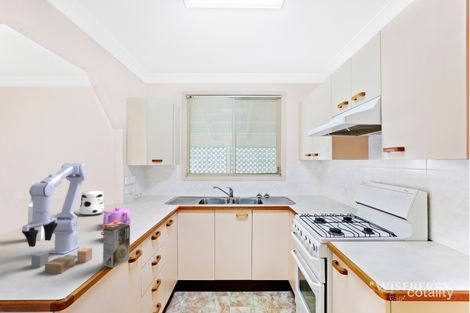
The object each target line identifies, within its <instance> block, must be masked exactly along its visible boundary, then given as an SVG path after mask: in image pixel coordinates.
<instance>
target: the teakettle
mask: <svg viewBox="0 0 470 313" xmlns="http://www.w3.org/2000/svg"><path fill="white" fill-rule="evenodd" d="M130 212H131V209H129V208H126V209H125V208H120V207H117V206H116V207H115V208H114V209H110V210H105V211H103V221H102V226H103V225H104V224H110V223H113V221H118V222H122V223H123V224H126V225H131V213H130ZM106 227H107V225H105V226H104V228H106Z"/></svg>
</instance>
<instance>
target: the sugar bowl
mask: <svg viewBox="0 0 470 313" xmlns="http://www.w3.org/2000/svg"><path fill="white" fill-rule="evenodd" d="M120 223H122V222H118V221H113V223H110V224H104V225H103V224H102V226H101V227H102V228H101V229H102V231H101V233H100V235H101V236H103V238H104V228H105V227H104V226H105V225H107V227H110V226H113V225H116V224H120ZM122 224H123V223H122Z"/></svg>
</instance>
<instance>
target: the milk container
mask: <svg viewBox="0 0 470 313" xmlns="http://www.w3.org/2000/svg"><path fill="white" fill-rule="evenodd" d="M104 210H105V205H104V191H102V190H101V191H100V190H88V191H83V192H81V194H80V205H79V214H80V215H82V216H97V215H100V214H103V213H104Z"/></svg>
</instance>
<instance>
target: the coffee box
mask: <svg viewBox="0 0 470 313" xmlns="http://www.w3.org/2000/svg"><path fill="white" fill-rule="evenodd" d="M103 234H104V237H103V244H102V246H103V247H102V248H103V249H102V250H103V251H102V266H105V267H108V268H111V269H113V268H116V267H118V266H120V265H122V264H124V263H126V262H128V261H130V253H131V252H130V244H131V241H130V240H131V239H130V238H131V224H129V225H126V224H122V223H120V224H116V225H113V226H110V227H106V228H105V227H104V233H103Z"/></svg>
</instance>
